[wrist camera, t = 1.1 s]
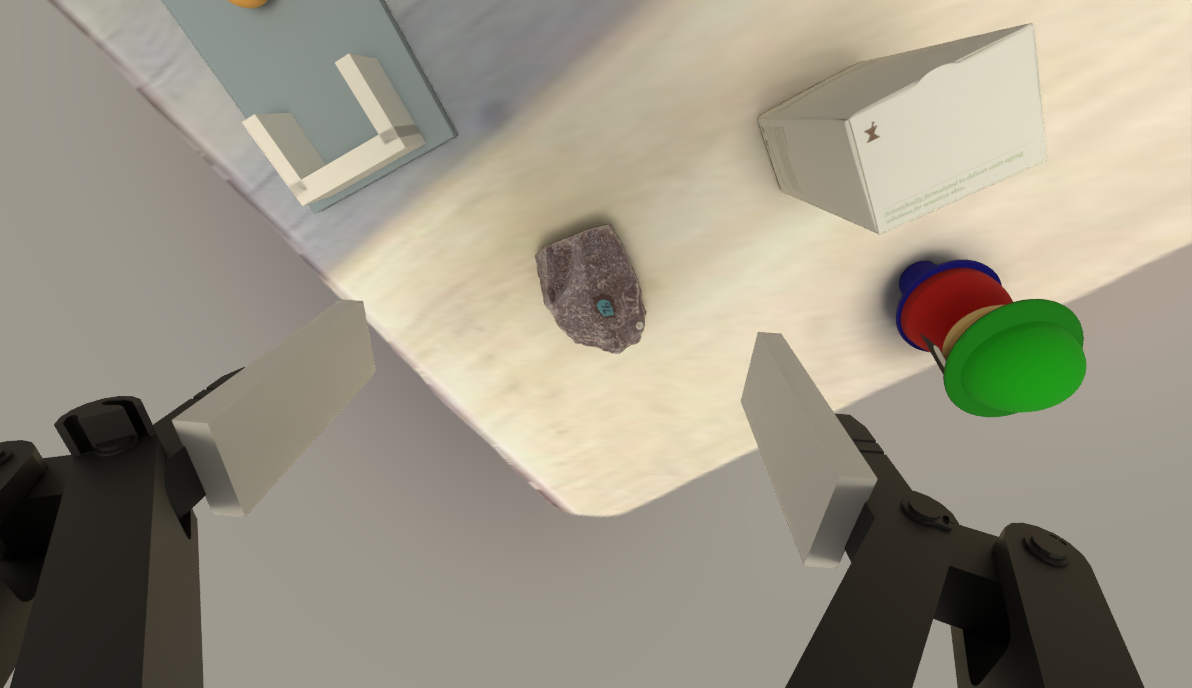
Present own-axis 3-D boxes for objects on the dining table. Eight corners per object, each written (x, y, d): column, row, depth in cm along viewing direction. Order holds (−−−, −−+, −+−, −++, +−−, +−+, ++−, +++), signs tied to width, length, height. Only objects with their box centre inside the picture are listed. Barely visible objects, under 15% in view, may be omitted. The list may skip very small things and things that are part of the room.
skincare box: (779, 192, 38) (870, 245, 24) (752, 111, 35) (837, 117, 22) (887, 141, 36) (1054, 166, 22) (867, 51, 33) (1042, 15, 20)
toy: (972, 326, 42) (1133, 429, 29) (872, 354, 44) (980, 464, 31) (969, 232, 39) (1151, 302, 25) (859, 268, 41) (977, 349, 27)
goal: (278, 120, 36) (241, 122, 33) (377, 58, 34) (348, 53, 31) (331, 196, 39) (302, 206, 35) (426, 143, 37) (405, 147, 33)
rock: (579, 353, 46) (576, 377, 42) (526, 246, 41) (517, 261, 37) (659, 324, 44) (663, 347, 40) (613, 209, 39) (613, 221, 35)
